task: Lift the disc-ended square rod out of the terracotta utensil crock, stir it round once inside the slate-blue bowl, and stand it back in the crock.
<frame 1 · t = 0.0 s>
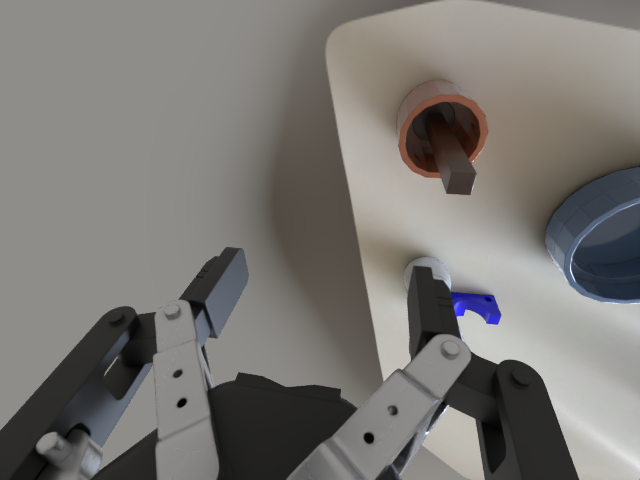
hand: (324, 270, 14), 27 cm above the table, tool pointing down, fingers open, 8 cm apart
crock: (431, 117, 35), on the table
disc-ended square rod: (432, 118, 34), point 1 cm above the table, touching crock
bowl: (616, 223, 38), on the table
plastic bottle: (425, 267, 47), on the table
cable holder: (463, 300, 49), on the table
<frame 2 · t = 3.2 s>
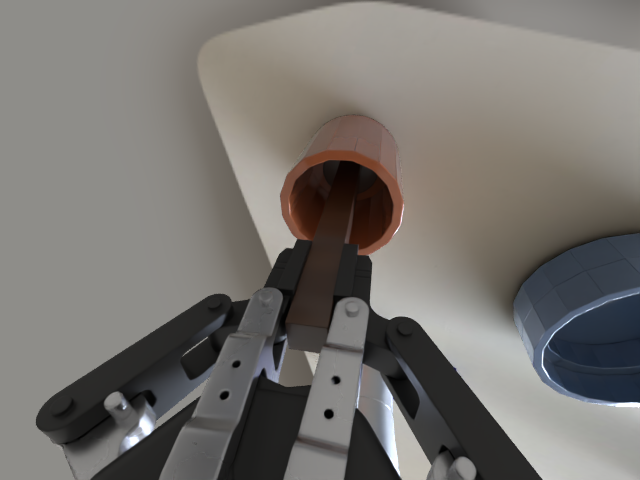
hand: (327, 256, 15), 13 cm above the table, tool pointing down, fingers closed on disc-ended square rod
crock: (352, 162, 25), on the table
disc-ended square rod: (351, 165, 25), point 1 cm above the table, touching crock, gripper
bowl: (605, 298, 28), on the table
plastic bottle: (369, 334, 38), on the table
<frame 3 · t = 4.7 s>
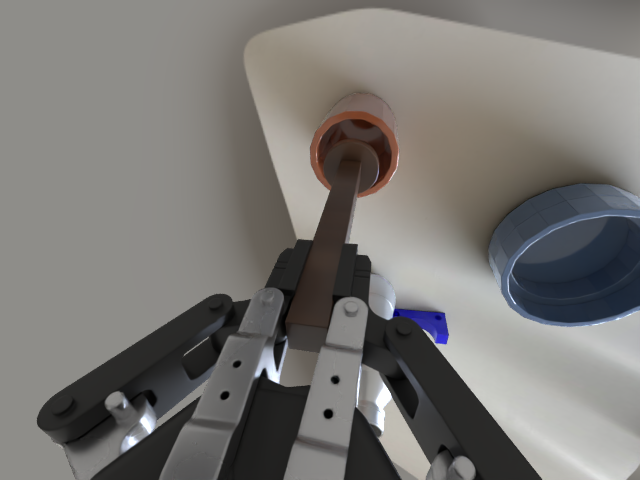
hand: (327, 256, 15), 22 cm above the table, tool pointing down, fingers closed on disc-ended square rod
crock: (360, 131, 33), on the table
disc-ended square rod: (351, 165, 25), point 10 cm above the table, touching gripper
bowl: (560, 242, 36), on the table
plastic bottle: (372, 284, 45), on the table
cable holder: (415, 317, 47), on the table
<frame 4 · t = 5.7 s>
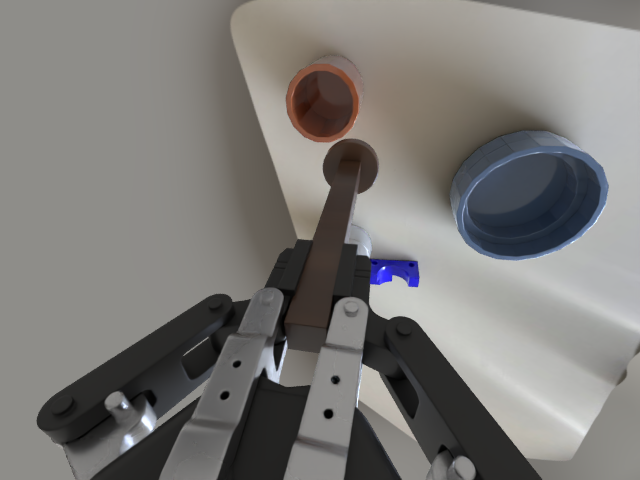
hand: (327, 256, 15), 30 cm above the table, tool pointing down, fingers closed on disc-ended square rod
crock: (332, 90, 38), on the table
disc-ended square rod: (351, 165, 25), point 17 cm above the table, touching gripper
bowl: (510, 187, 41), on the table
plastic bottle: (352, 236, 51), on the table
cable holder: (392, 267, 53), on the table
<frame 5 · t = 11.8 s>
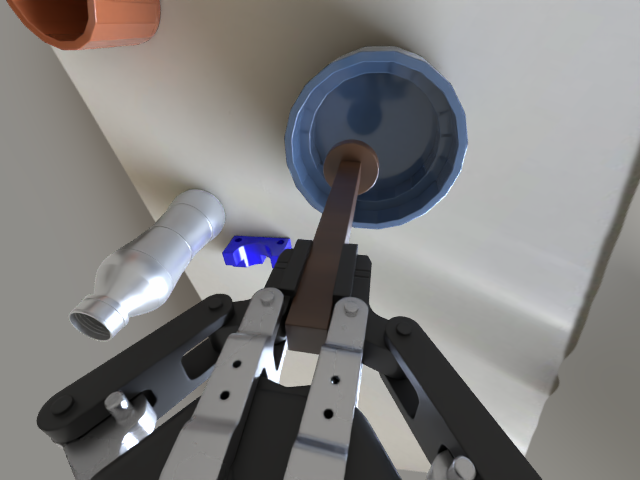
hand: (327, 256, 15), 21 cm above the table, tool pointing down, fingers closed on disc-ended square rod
disc-ended square rod: (351, 166, 25), point 8 cm above the table, touching gripper
bowl: (373, 134, 31), on the table
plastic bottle: (208, 205, 41), on the table
cable holder: (264, 246, 43), on the table
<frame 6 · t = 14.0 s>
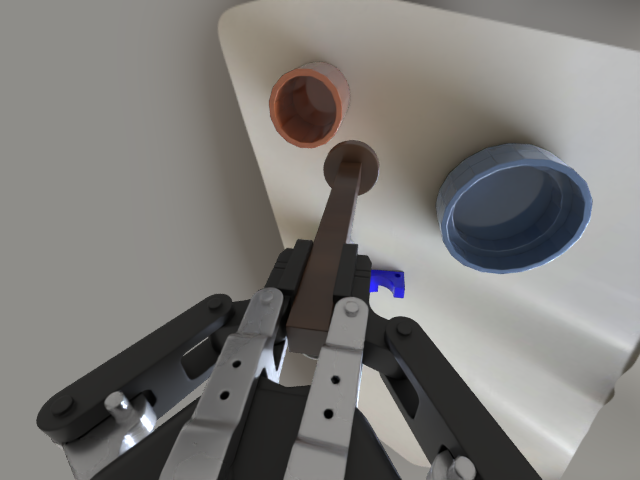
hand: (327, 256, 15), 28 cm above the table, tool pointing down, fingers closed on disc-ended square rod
crock: (319, 97, 38), on the table
disc-ended square rod: (352, 166, 25), point 16 cm above the table, touching gripper
bowl: (497, 200, 41), on the table
cable holder: (378, 277, 52), on the table
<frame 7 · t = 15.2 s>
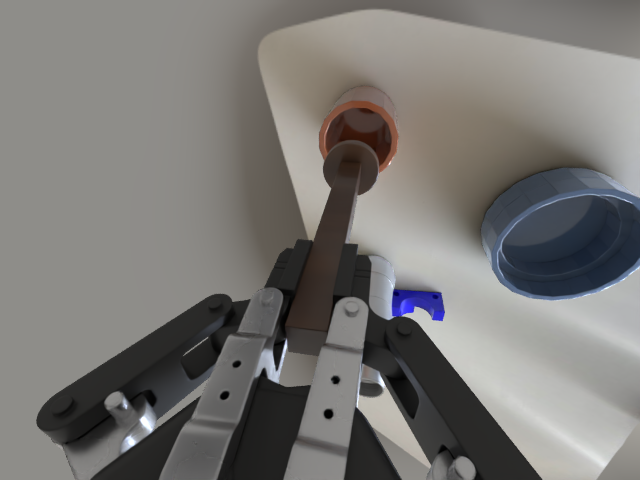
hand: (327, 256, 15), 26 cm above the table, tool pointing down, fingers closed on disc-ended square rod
crock: (363, 121, 36), on the table
disc-ended square rod: (351, 166, 25), point 14 cm above the table, touching gripper
bowl: (546, 223, 39), on the table
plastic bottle: (374, 265, 48), on the table
cable holder: (413, 297, 51), on the table
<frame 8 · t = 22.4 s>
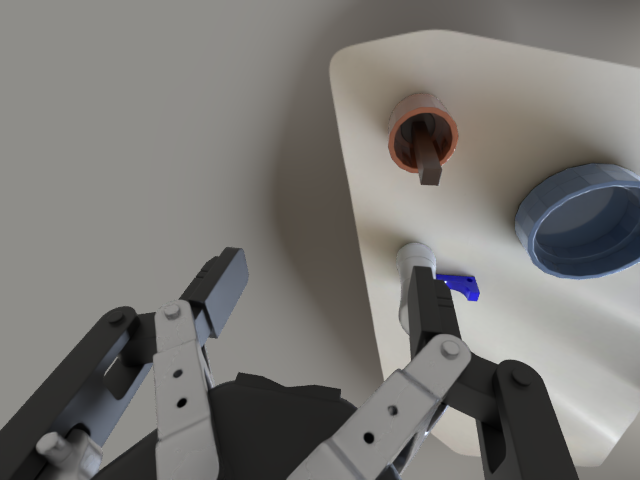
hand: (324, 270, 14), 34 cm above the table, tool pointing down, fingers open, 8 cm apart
crock: (417, 123, 42), on the table
disc-ended square rod: (417, 125, 41), point 1 cm above the table, touching crock
bowl: (573, 212, 45), on the table
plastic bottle: (414, 252, 54), on the table
cable holder: (448, 281, 56), on the table
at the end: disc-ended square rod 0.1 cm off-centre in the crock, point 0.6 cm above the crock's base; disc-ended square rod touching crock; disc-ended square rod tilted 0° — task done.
